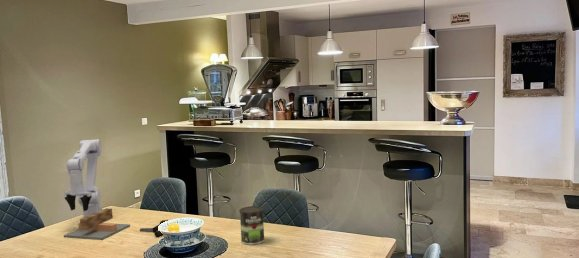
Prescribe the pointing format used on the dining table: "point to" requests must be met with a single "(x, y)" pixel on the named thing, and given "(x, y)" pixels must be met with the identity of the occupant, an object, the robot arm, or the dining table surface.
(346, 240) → the dining table surface
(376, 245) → the dining table surface
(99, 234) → the stand
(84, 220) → the walnut beam
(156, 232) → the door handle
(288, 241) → the dining table surface
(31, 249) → the dining table surface
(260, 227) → the coffee can
